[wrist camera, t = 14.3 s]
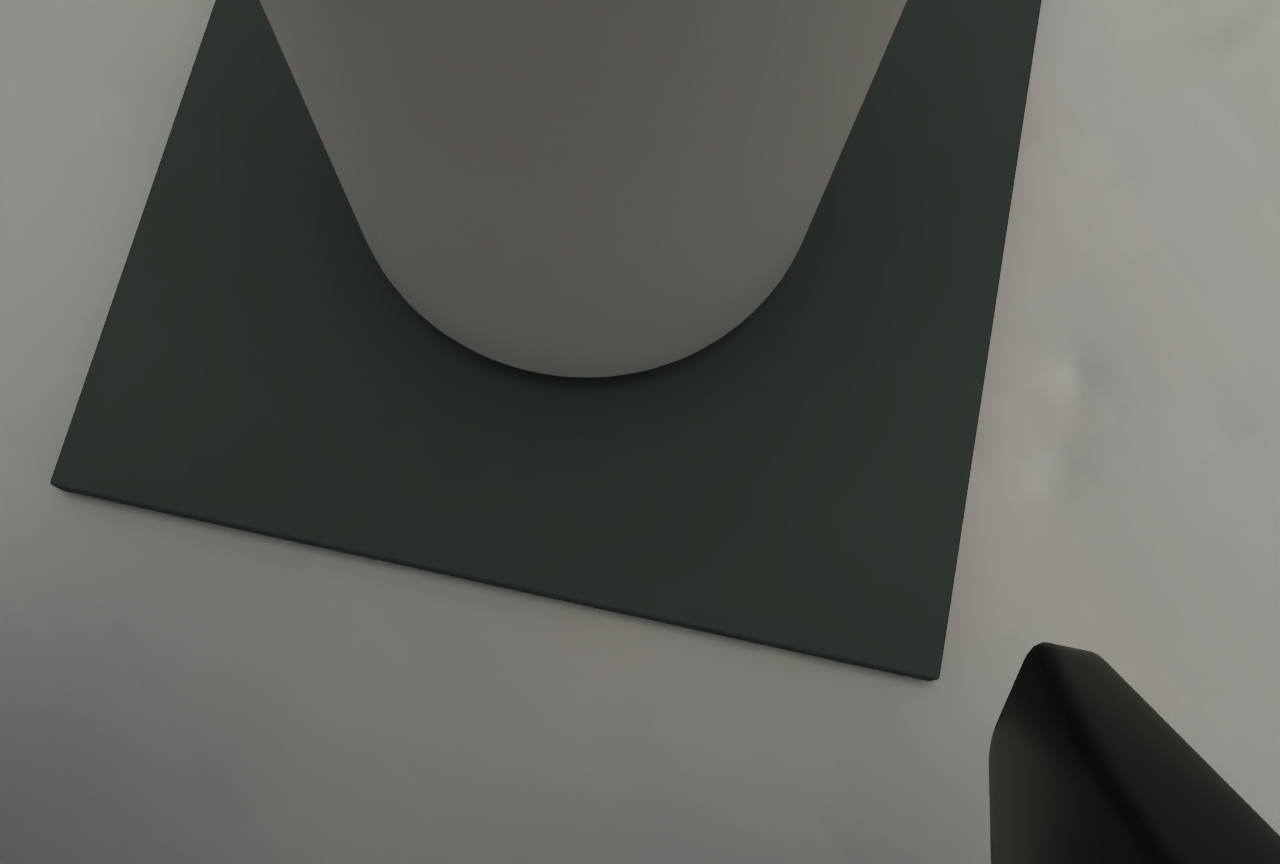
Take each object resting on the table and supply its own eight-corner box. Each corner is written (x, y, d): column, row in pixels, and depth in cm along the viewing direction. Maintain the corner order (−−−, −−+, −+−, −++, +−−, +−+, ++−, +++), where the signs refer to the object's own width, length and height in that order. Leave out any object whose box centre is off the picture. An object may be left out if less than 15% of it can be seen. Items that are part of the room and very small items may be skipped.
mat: (60, 490, 16) (48, 484, 16) (306, -232, 19) (301, -252, 19) (931, 681, 16) (939, 680, 16) (1046, -77, 19) (1056, -93, 19)
